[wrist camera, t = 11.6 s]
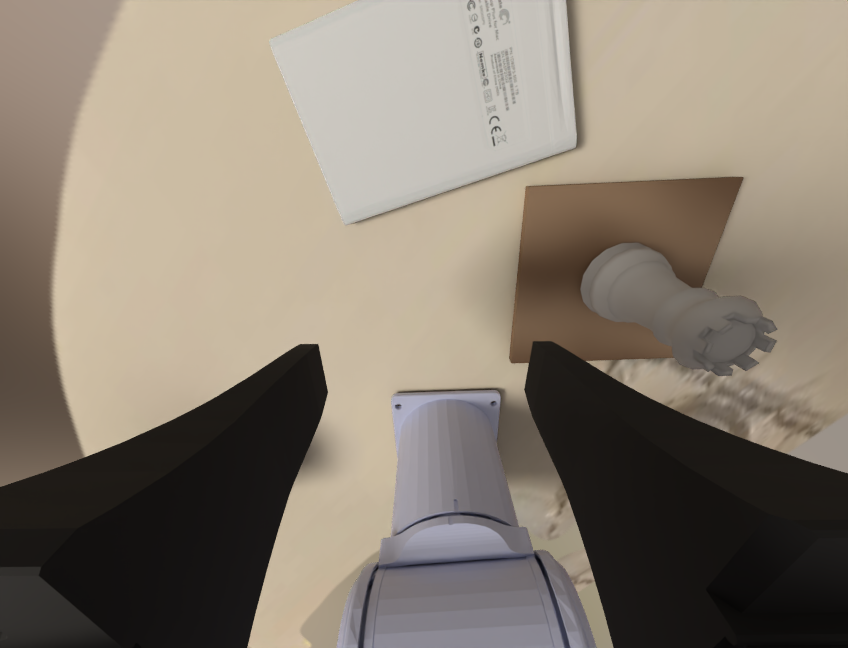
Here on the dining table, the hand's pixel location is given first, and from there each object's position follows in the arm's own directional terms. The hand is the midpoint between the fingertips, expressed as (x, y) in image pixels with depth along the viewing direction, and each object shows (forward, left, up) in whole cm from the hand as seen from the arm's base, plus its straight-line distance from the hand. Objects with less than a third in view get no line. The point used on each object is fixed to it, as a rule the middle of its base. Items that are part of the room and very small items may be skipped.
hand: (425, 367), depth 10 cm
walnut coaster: (0, -11, -9) cm, 15 cm away
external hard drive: (+9, -1, -10) cm, 14 cm away
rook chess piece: (0, -11, -9) cm, 14 cm away
